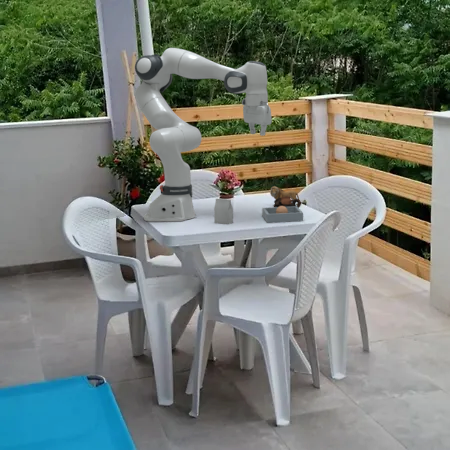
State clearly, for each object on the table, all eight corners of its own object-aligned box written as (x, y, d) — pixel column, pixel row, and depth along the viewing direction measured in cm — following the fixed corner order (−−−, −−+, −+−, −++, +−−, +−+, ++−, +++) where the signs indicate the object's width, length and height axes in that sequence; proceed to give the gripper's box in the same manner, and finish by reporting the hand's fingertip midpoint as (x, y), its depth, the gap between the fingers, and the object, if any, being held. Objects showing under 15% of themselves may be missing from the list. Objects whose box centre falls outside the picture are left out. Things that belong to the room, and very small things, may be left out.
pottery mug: (276, 216, 335) (271, 199, 337) (278, 222, 344) (273, 204, 347) (303, 208, 334) (298, 191, 337) (304, 214, 343) (299, 197, 346)
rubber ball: (278, 218, 325) (277, 207, 325) (274, 217, 330) (274, 205, 329) (289, 217, 326) (288, 205, 326) (286, 216, 331) (285, 204, 330)
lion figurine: (271, 207, 354) (271, 187, 352) (269, 205, 359) (269, 185, 358) (303, 205, 356) (303, 185, 354) (300, 203, 361) (300, 184, 360)
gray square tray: (267, 222, 320) (266, 214, 320) (262, 215, 335) (262, 207, 334) (303, 221, 321) (303, 212, 321) (296, 214, 336) (296, 206, 335)
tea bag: (228, 224, 320) (227, 200, 318) (214, 223, 324) (213, 199, 321) (233, 222, 323) (232, 198, 321) (219, 221, 327) (218, 197, 325)
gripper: (275, 101, 314) (275, 135, 317) (253, 100, 333) (254, 132, 335) (260, 102, 312) (261, 137, 315) (240, 100, 330) (241, 133, 333)
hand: (257, 134), depth 325 cm, fingers open, 8 cm apart
